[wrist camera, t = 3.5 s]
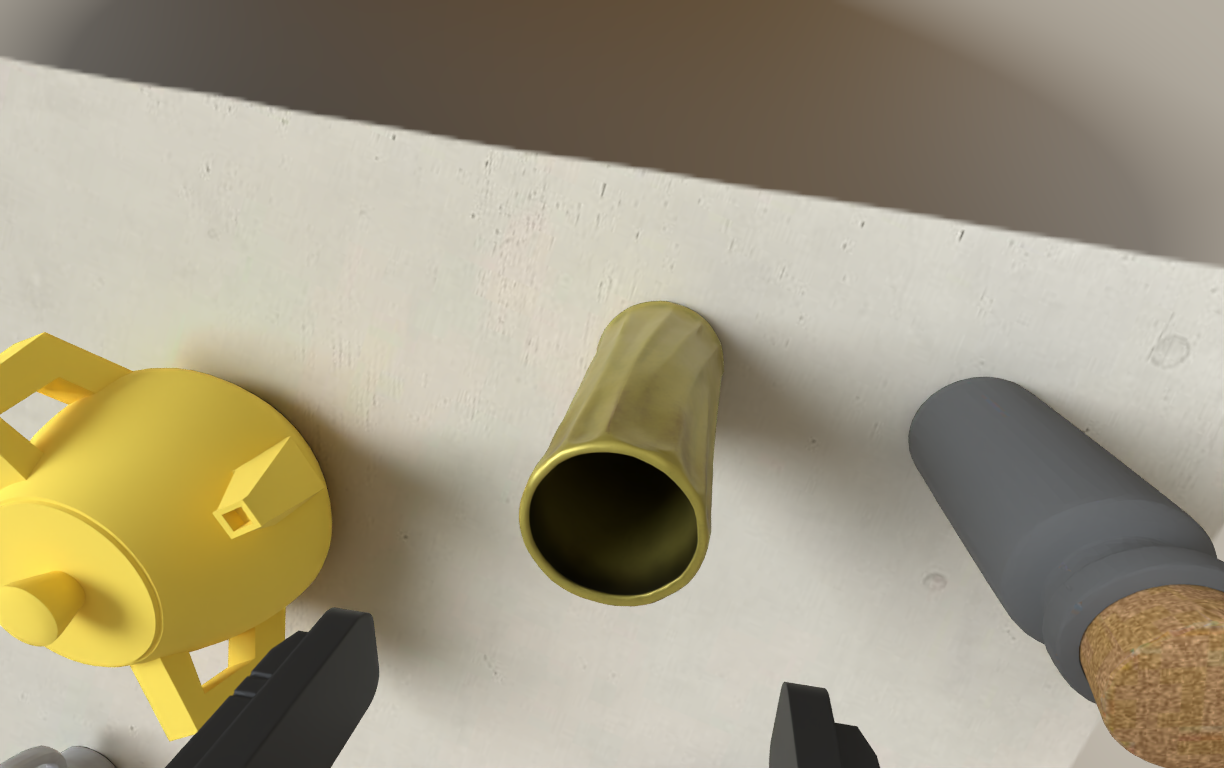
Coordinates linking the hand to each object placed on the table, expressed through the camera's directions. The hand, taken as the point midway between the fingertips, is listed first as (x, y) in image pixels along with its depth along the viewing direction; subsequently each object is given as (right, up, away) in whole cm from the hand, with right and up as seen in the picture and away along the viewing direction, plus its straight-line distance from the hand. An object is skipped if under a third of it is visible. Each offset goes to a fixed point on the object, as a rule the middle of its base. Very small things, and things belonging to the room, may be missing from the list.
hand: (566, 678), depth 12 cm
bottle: (+18, +3, +17) cm, 25 cm away
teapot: (-22, 0, +25) cm, 33 cm away
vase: (+3, +7, +18) cm, 20 cm away
